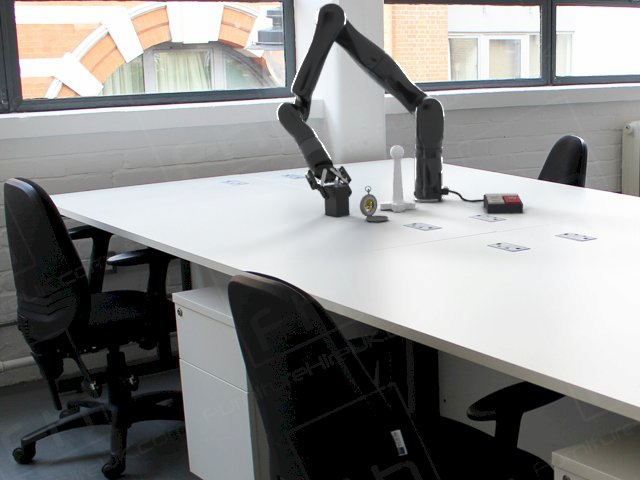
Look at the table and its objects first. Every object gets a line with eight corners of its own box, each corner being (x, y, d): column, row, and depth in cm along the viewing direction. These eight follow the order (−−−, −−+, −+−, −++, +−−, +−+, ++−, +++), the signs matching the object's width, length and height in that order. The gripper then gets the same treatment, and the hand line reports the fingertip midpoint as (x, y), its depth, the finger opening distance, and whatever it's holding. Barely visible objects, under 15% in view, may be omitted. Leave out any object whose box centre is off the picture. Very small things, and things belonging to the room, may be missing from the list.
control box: (487, 201, 324) (483, 192, 337) (487, 215, 325) (483, 205, 339) (523, 201, 324) (517, 191, 338) (522, 215, 325) (517, 204, 339)
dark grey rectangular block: (324, 214, 328) (323, 185, 325) (337, 212, 331) (336, 183, 328) (336, 217, 324) (335, 187, 321) (349, 215, 327) (348, 185, 324)
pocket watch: (385, 222, 313) (384, 188, 310) (358, 222, 315) (357, 188, 311) (391, 218, 321) (390, 184, 317) (364, 217, 322) (363, 184, 319)
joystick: (415, 207, 338) (414, 144, 331) (416, 211, 330) (415, 146, 324) (380, 208, 337) (379, 144, 331) (380, 212, 330) (379, 147, 323)
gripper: (301, 149, 322) (325, 191, 317) (338, 145, 330) (362, 186, 326) (292, 165, 327) (315, 207, 323) (329, 161, 336) (352, 201, 332)
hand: (339, 196), depth 325 cm, fingers open, 8 cm apart
